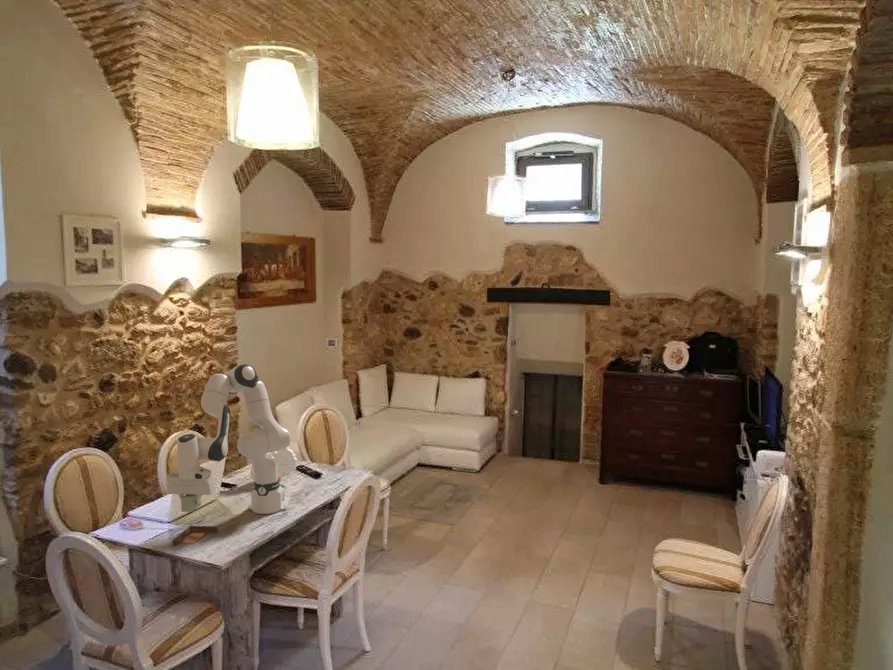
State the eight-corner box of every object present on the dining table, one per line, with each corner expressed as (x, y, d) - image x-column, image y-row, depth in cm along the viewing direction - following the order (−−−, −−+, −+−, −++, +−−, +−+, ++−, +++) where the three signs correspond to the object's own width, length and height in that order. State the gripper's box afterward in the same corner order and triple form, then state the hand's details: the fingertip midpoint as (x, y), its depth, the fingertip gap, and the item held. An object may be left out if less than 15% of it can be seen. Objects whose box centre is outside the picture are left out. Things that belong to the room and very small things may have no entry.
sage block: (181, 511, 277) (180, 498, 276) (190, 504, 285) (190, 491, 284) (191, 511, 276) (190, 498, 276) (200, 504, 284) (199, 491, 284)
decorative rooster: (245, 486, 346) (243, 441, 344) (261, 477, 361) (259, 433, 359) (286, 490, 339) (284, 444, 336) (301, 481, 354) (299, 436, 351)
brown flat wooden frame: (190, 530, 290) (190, 525, 290) (217, 531, 289) (217, 526, 288) (172, 545, 275) (172, 539, 275) (201, 546, 274) (201, 540, 273)
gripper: (162, 474, 277) (164, 505, 278) (207, 475, 275) (209, 506, 276) (170, 469, 283) (172, 500, 285) (214, 470, 281) (216, 501, 282)
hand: (191, 503), depth 280 cm, fingers closed on sage block, 4 cm apart
